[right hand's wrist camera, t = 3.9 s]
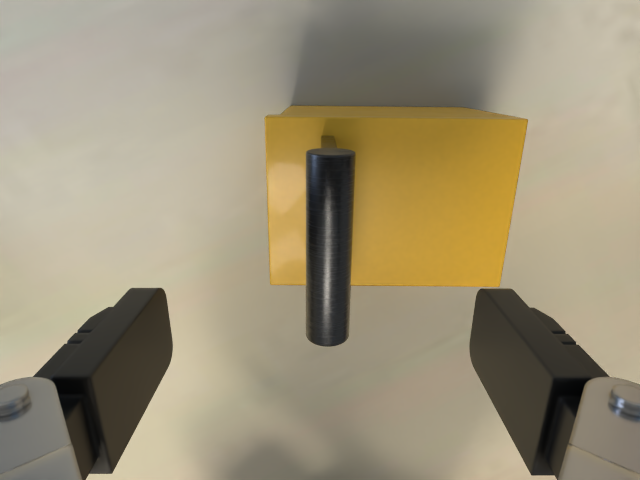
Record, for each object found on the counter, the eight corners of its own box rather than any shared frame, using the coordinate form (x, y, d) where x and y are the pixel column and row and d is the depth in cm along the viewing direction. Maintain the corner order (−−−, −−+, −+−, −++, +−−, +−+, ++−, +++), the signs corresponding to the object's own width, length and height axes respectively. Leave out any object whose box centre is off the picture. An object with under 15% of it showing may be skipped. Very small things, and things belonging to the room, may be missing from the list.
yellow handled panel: (272, 276, 26) (251, 361, 18) (267, 114, 23) (239, 132, 15) (491, 277, 26) (567, 364, 18) (517, 117, 23) (623, 136, 15)
